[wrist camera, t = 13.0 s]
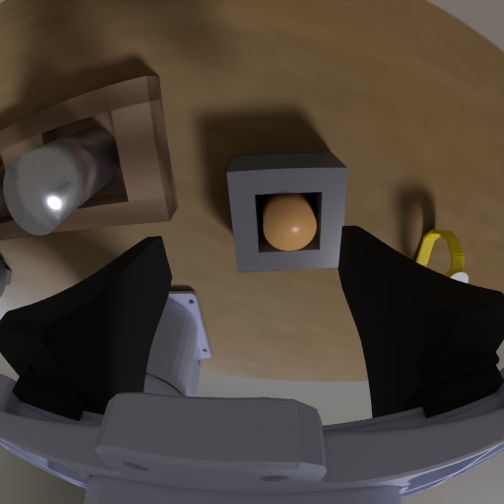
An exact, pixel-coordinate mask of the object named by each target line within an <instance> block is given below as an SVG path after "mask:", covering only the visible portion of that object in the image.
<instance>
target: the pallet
mask: <svg viewBox="0 0 504 504" xmlns="http://www.w3.org/2000/svg"><path fill="white" fill-rule="evenodd" d="M89 127H100V128H103V129H105V130H107V131H108V132H110V133H111V134H112V135H113V136H114V138H115V139H116V144H117V149H118V154H119V159H120V168H119V170H118V173H117V174H116V176H115V177H114V178H113V180H111V181H110V182H109V183H108V184H106V185H105V186H104V187H103V188H101V189H100V190H99V191H98V192H96V193H95V194H94V195H93V196H91V197H90V198H89V199H88V200H87V201H85V202H84V203H83V204H82V205H81V206H79V207H78V208H77V209H76V210H75V211H74V212H72V213H71V214H70V215H69V216H68V217H67V218H66V219H65V220H63V221H62V222H61V223H60V224H59V225H58V226H57V227H56V228H55V229H54V230H53V231H51V232H50V233H56V232H65V231H73V230H82V229H90V228H100V227H109V226H119V225H129V224H140V223H151V222H162V221H170V220H171V218H172V216H173V214H174V213H175V211H176V209H177V208H178V203H177V197H176V191H175V186H174V180H173V174H172V168H171V162H170V156H169V149H168V143H167V136H166V129H165V121H164V114H163V106H162V98H161V89H160V80H159V76H143V77H139V78H135V79H131V80H127V81H123V82H120V83H116V84H113V85H109V86H106V87H103V88H100V89H97V90H93V91H90V92H88V93H85V94H82V95H79V96H76V97H73V98H71V99H68V100H66V101H63V102H60V103H58V104H55V105H53V106H51V107H48V108H46V109H44V110H41V111H39V112H37V113H35V114H32V115H30V116H28V117H26V118H24V119H22V120H20V121H18V122H16V123H14V124H12V125H10V126H8V127H6V128H4V129H3V130H1V131H0V161H3V163H4V167H5V171H6V170H7V167H8V166H9V164H10V163H11V162H12V161H13V160H14V159H15V158H17V157H19V156H21V155H23V154H25V153H27V152H30V151H32V150H34V149H36V148H38V147H41V146H43V145H45V144H47V143H50V142H52V141H55V140H57V139H59V138H62V137H64V136H67V135H70V134H72V133H75V132H77V131H80V130H83V129H86V128H89ZM48 234H49V233H48ZM26 236H33V234H31V233H28V232H27V231H25V230H24V229H23V228H21V227H20V226H19V225H18V224H17V223H16V221H15V220H14V219H13V217H12V216H11V214H10V212H9V210H8V209H7V210H6V211H5V212H3V213H2V214H1V215H0V240H5V239H12V238H19V237H26Z"/></svg>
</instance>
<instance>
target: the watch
mask: <svg viewBox="0 0 504 504" xmlns="http://www.w3.org/2000/svg"><path fill="white" fill-rule="evenodd" d="M440 236H442V237H443V238H444V240H445V241H446V242H447V244H448V247H449V251H450V254H451V270H449V271H448V272H447V273H445V276H447V277H450V278H453V279H455V280H458V281H461V282H464V283H468V275H467V273H466V272H465V271H464V253H463V250H462V247H461V244H460V241H459V239H458V238H457V237H456V236H455V235H454V234H453V233H452V232H450V231H445V230H434V229H432V230H430V231H429V232H428V233H426V234H425V235H424V236H423V239H422V242H421V246H420V249H419V252H418V255H417V259H416V262H417V263H419V264H421V265H423V266H425V267H427V263H428V260H429V257H430V254H431V250H432V247H433V244H434V241H435V240H436V239H437V238H438V237H440Z"/></svg>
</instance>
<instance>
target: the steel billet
mask: <svg viewBox="0 0 504 504" xmlns="http://www.w3.org/2000/svg"><path fill="white" fill-rule="evenodd" d="M119 168H120V159H119V154H118V149H117V144H116V139H115V138H114V136H113V135H112V134H111V133H110V132H108V131H107V130H105V129H103V128H100V127H89V128H86V129H83V130H80V131H77V132H75V133H72V134H70V135H67V136H64V137H62V138H59V139H57V140H55V141H52V142H50V143H47V144H45V145H43V146H41V147H38V148H36V149H34V150H32V151H30V152H27V153H25V154H23V155H21V156H19V157H17V158H15V159H14V160H13V161H12V162H11V163H10V164H9V166H8V167H7V170H6V172H5V176H4V182H3V190H4V197H5V201H6V205H7V207H8V210H9V212H10V214H11V216H12V217H13V219H14V220H15V221H16V223H17V224H18V225H19V226H20V227H21V228H23V229H24V230H25V231H27V232H28V233H31V234H33V235H38V236H41V235H46V234H48V233H50V232H51V231H53V230H54V229H55V228H56V227H57V226H58V225H59V224H60V223H61V222H62V221H63V220H65V219H66V218H67V217H68V216H69V215H70V214H71V213H72V212H74V211H75V210H76V209H77V208H78V207H79V206H81V205H82V204H83V203H84V202H85V201H87V200H88V199H89V198H90V197H91V196H93V195H94V194H95V193H96V192H98V191H99V190H100V189H101V188H103V187H104V186H105V185H106V184H108V183H109V182H110V181H111V180H113V178H114V177H115V176H116V174H117V173H118V170H119Z"/></svg>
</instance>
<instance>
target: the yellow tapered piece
mask: <svg viewBox="0 0 504 504" xmlns="http://www.w3.org/2000/svg"><path fill="white" fill-rule="evenodd" d="M11 273H12V271H10V270H7V269H6V266H5V263H4V262H3V260H2V259H0V297H1V296H2V294H3V292H4V289H5V285H9V284H10V281H11Z"/></svg>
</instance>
